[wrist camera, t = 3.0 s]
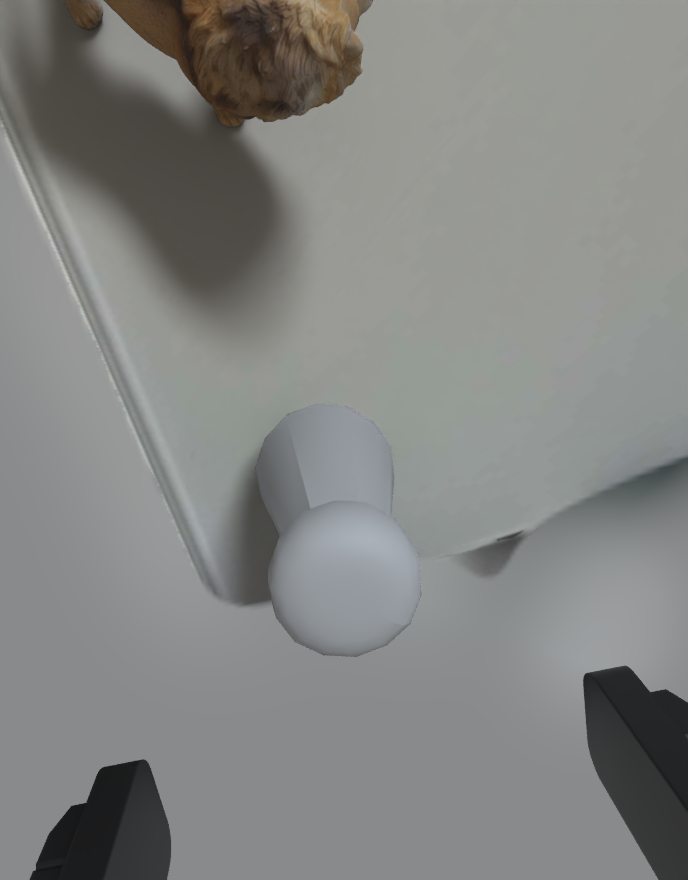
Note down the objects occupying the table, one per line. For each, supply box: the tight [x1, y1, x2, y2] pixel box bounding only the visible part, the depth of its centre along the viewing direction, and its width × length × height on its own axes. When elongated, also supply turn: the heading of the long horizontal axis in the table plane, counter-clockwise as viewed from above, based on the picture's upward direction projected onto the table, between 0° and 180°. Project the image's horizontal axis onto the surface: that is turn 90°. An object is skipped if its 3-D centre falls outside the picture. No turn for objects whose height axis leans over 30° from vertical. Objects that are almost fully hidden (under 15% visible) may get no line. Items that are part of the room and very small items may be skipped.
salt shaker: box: [255, 404, 421, 657], centre depth 23 cm, size 6×6×13 cm
